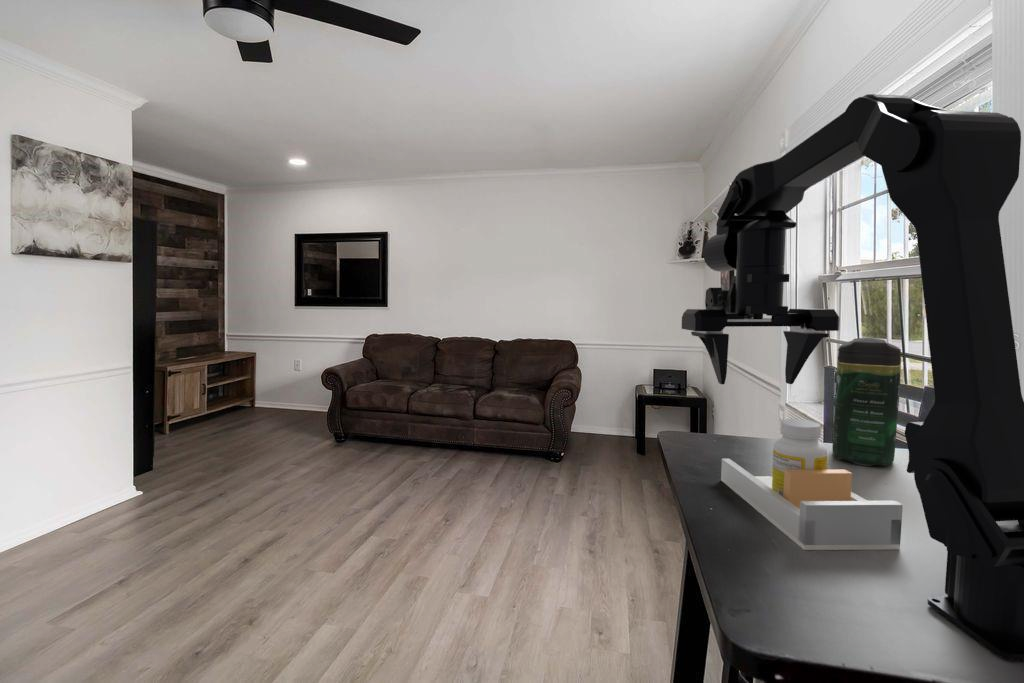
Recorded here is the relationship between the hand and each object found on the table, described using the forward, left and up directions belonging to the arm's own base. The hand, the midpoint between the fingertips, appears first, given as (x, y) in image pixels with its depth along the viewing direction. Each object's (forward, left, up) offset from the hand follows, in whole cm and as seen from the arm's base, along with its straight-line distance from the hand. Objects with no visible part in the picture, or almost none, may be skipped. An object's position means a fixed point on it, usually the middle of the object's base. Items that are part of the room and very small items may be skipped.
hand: (755, 383), depth 68 cm
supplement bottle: (-11, 0, -13) cm, 17 cm away
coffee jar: (+8, -21, -13) cm, 26 cm away
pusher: (-14, 0, -13) cm, 19 cm away
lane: (-11, 0, -13) cm, 17 cm away
